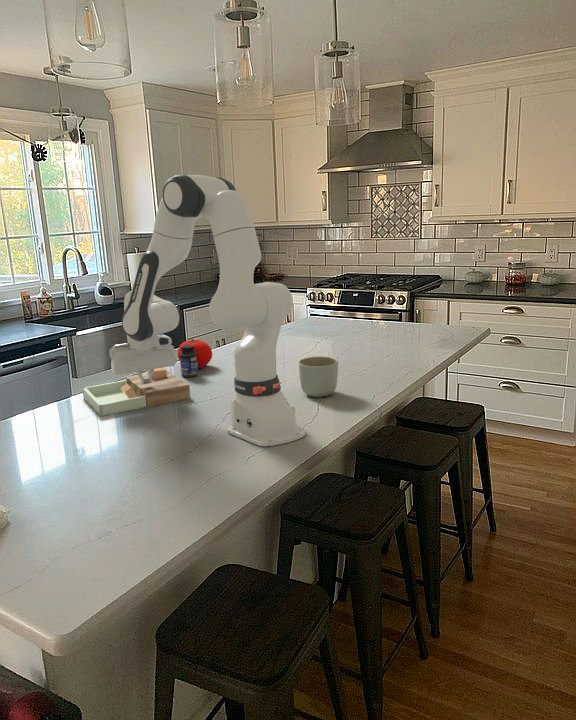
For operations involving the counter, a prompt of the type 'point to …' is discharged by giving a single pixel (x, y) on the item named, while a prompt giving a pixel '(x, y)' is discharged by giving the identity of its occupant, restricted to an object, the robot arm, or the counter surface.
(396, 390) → the counter surface
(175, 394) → the board
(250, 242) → the robot arm
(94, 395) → the tray
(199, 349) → the tomato
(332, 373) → the planter
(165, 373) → the tile
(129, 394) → the tile
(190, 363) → the pill bottle
